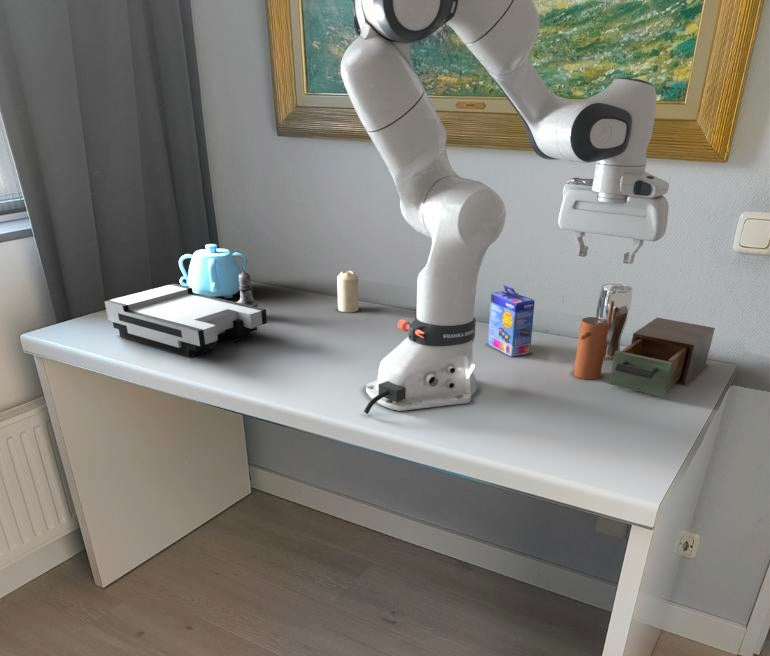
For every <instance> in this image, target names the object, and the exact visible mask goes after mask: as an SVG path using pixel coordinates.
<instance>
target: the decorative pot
mask: <svg viewBox="0 0 770 656" xmlns="http://www.w3.org/2000/svg"><path fill="white" fill-rule="evenodd" d="M235 257H236V258H237V257H239V258H241V259H242V262H243V263H242V268H241V269H240V267H239V264H238V262H237V261H236V258H235ZM186 259H190V263H189V266H188V271H186V269H185V266H184V263H183V262H184V260H186ZM178 266H179V270H180V271H181V273H182V275H183V276H181V277H180V278H179V283H180V284H179V285H183V286H187V287H192V290H193V293H197V294H201V295H206V296H210V297H223V298H224V299H231V298H234V296H233V295H235V294H237V293H238V292H240V289H238V288H239V287H240V284H239V275H240V274H241V273H243V269H244V270H245V272H247V267H248V259H247V257H246V256H245V254H243V253H241V252H237V251H236V252H233V253H231V251H230V250H229V249H227V248H218V244H216V243H208V244H205V248H204V249H203V248H202V249H197V250H195V251H194V252H193V254H190V253H186V254H184V255H182V256H181V257H180V258H179V260H178ZM184 280H185V281H184Z"/></svg>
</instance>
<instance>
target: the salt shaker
mask: <svg viewBox="0 0 770 656" xmlns="http://www.w3.org/2000/svg"><path fill="white" fill-rule="evenodd" d="M251 281H252V280H251V275H250V274H249V273H248V272H247V271H245V270H244V269H243V273H241V274H240V275H239V284H240V287H239V288H238V289H239V295H240V297H239V300H237V301H235V302H236V303H241V304H245V305H250V306H254V307H258V306H259V305H258V304H259V301H258V300H256V299H254V296H253V289H254V287H253V286H252V282H251ZM258 308H259V307H258Z"/></svg>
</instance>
